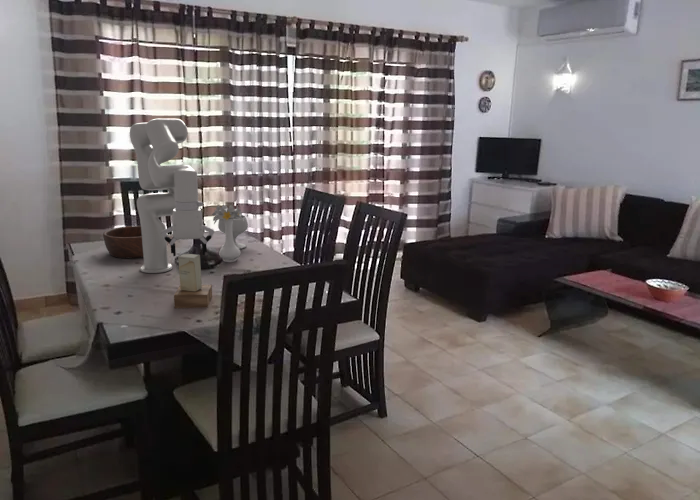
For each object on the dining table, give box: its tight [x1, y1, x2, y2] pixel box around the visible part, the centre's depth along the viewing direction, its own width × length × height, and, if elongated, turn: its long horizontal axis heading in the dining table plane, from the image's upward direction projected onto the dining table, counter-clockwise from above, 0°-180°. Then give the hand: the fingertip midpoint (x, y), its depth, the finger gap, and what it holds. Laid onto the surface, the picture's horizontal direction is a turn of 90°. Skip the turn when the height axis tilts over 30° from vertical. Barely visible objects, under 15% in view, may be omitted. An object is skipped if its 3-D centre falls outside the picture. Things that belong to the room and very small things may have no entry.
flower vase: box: [211, 204, 244, 263], centre depth 243 cm, size 13×18×25 cm
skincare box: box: [177, 253, 203, 291], centre depth 191 cm, size 6×4×12 cm
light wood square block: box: [173, 284, 213, 309], centre depth 193 cm, size 11×11×5 cm
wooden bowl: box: [102, 225, 143, 259], centre depth 253 cm, size 25×25×10 cm
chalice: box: [217, 214, 249, 250], centre depth 267 cm, size 14×14×15 cm
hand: (189, 254), depth 190 cm, fingers open, 9 cm apart
